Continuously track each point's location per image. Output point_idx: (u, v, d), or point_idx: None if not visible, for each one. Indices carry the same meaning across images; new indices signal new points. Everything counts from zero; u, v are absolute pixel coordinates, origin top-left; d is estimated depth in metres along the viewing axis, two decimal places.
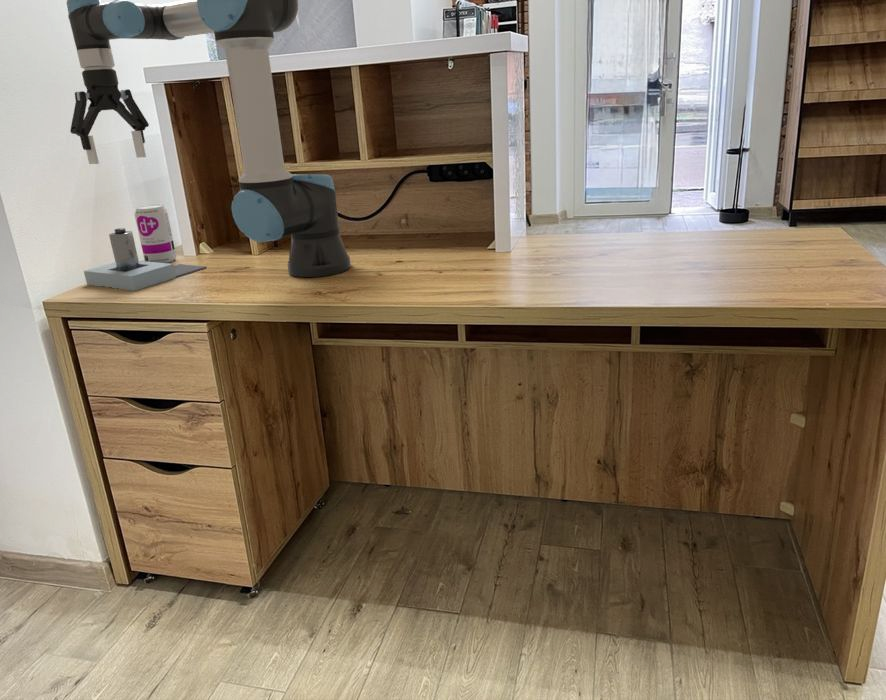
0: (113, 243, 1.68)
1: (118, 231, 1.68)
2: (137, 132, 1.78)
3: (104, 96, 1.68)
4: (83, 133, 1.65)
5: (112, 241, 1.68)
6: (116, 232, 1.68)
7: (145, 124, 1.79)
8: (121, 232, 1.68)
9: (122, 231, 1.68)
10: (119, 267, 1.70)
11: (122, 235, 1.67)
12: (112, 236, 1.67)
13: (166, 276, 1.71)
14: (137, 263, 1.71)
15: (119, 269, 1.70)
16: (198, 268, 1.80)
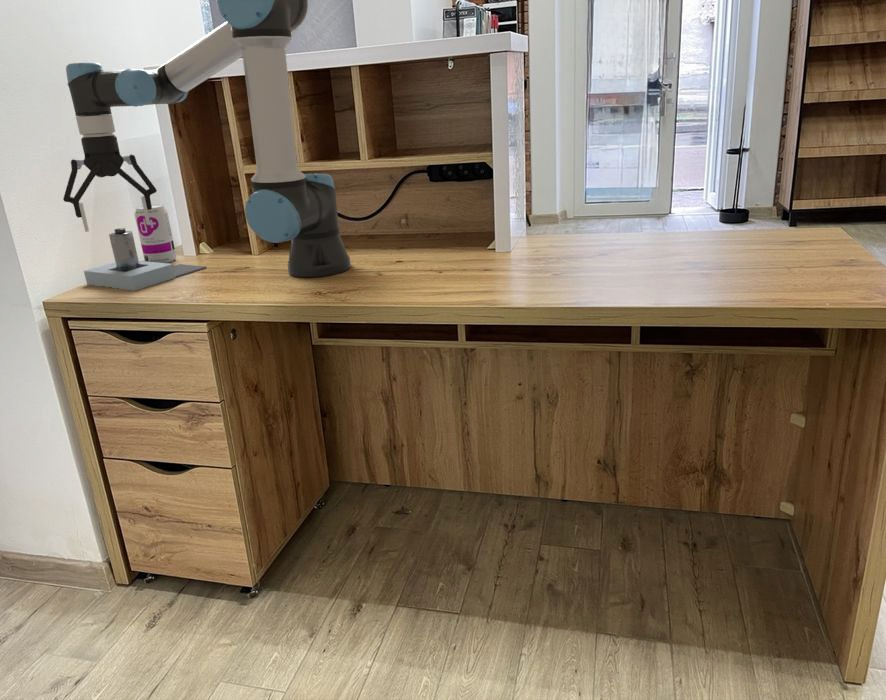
0: (113, 243, 1.68)
1: (118, 231, 1.68)
2: (141, 198, 1.68)
3: (97, 164, 1.61)
4: (72, 201, 1.62)
5: (112, 241, 1.68)
6: (116, 232, 1.68)
7: (152, 190, 1.68)
8: (121, 232, 1.68)
9: (122, 231, 1.68)
10: (119, 267, 1.70)
11: (122, 235, 1.67)
12: (112, 236, 1.67)
13: (166, 276, 1.71)
14: (137, 263, 1.71)
15: (119, 269, 1.70)
16: (198, 268, 1.80)
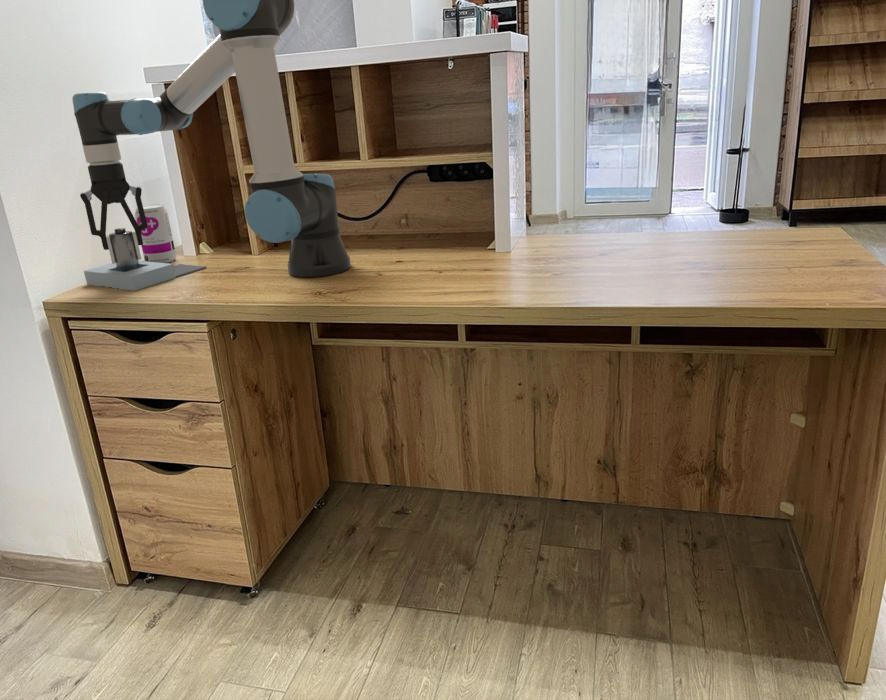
0: (113, 243, 1.68)
1: (118, 231, 1.68)
2: None
3: (104, 191, 1.63)
4: (100, 234, 1.66)
5: (112, 241, 1.68)
6: (116, 232, 1.68)
7: (143, 225, 1.70)
8: (121, 232, 1.68)
9: (122, 231, 1.68)
10: (119, 267, 1.70)
11: (122, 235, 1.67)
12: (112, 236, 1.67)
13: (166, 276, 1.71)
14: (137, 263, 1.71)
15: (119, 269, 1.70)
16: (198, 268, 1.80)
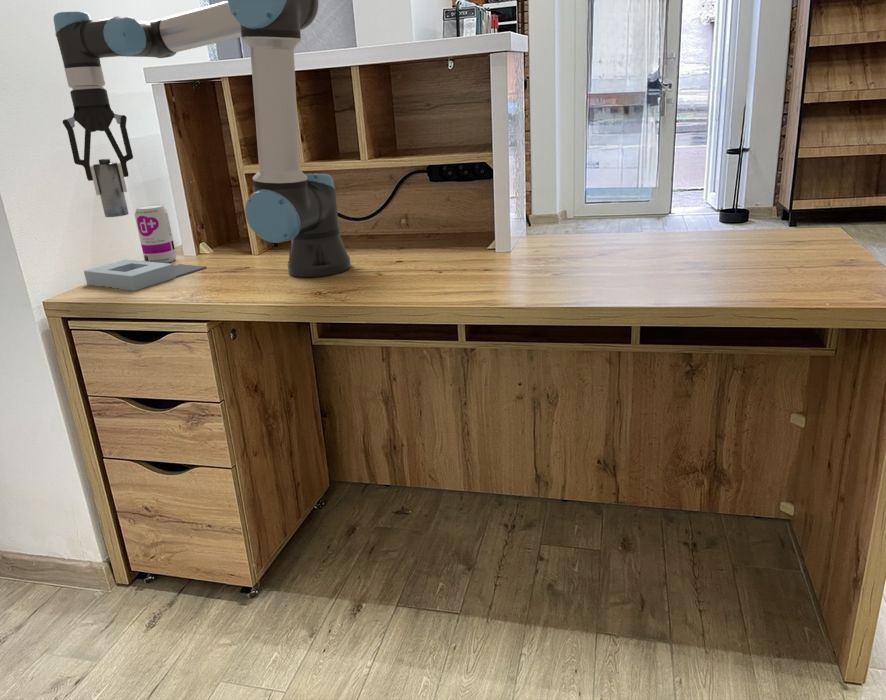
0: (97, 173, 1.62)
1: (102, 161, 1.62)
2: None
3: (87, 118, 1.57)
4: (83, 164, 1.61)
5: (96, 171, 1.62)
6: (100, 162, 1.62)
7: (128, 156, 1.64)
8: (105, 162, 1.62)
9: (106, 161, 1.62)
10: (104, 199, 1.64)
11: (106, 165, 1.61)
12: (96, 166, 1.61)
13: (166, 276, 1.71)
14: (123, 196, 1.66)
15: (104, 201, 1.64)
16: (198, 268, 1.80)
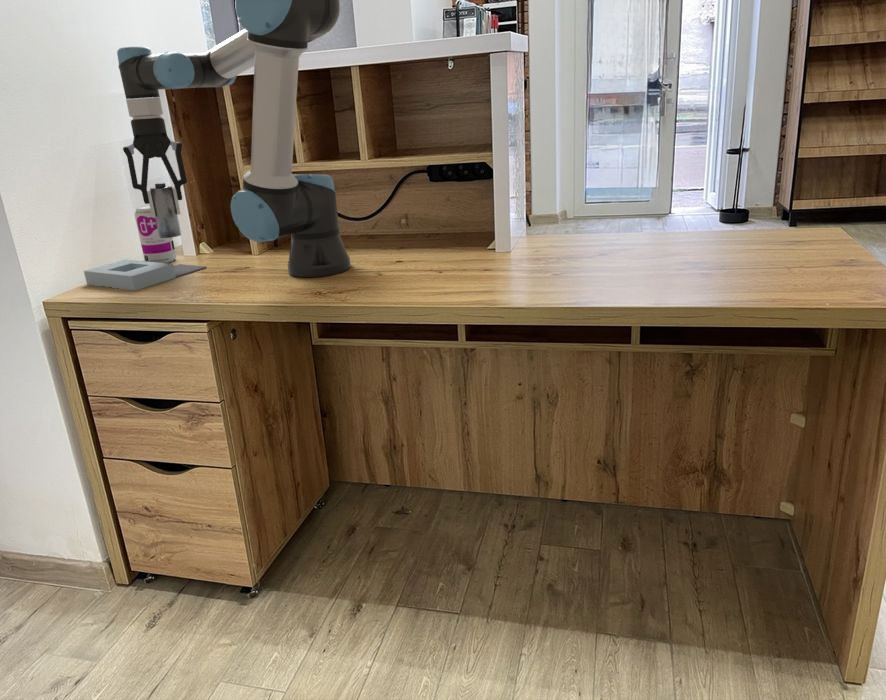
0: (154, 197, 1.71)
1: (159, 185, 1.71)
2: (172, 189, 1.73)
3: (146, 145, 1.67)
4: (141, 188, 1.70)
5: (152, 195, 1.71)
6: (157, 186, 1.72)
7: (182, 180, 1.73)
8: (161, 186, 1.72)
9: (162, 185, 1.72)
10: (159, 221, 1.73)
11: (163, 189, 1.71)
12: (153, 190, 1.71)
13: (166, 276, 1.71)
14: (176, 218, 1.75)
15: (159, 223, 1.74)
16: (198, 268, 1.80)
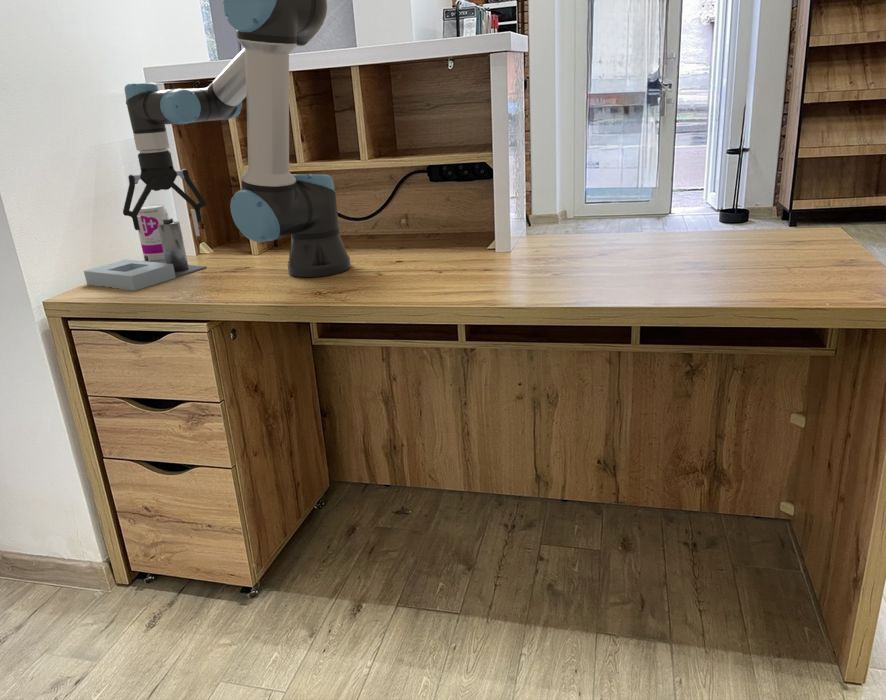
0: (162, 233, 1.74)
1: (166, 221, 1.74)
2: (192, 211, 1.77)
3: (153, 178, 1.70)
4: (131, 215, 1.71)
5: (160, 231, 1.74)
6: (164, 222, 1.75)
7: (202, 203, 1.77)
8: (169, 222, 1.75)
9: (170, 221, 1.75)
10: (167, 256, 1.76)
11: (170, 225, 1.74)
12: (161, 226, 1.74)
13: (166, 276, 1.71)
14: (184, 252, 1.78)
15: (167, 258, 1.77)
16: (198, 268, 1.80)
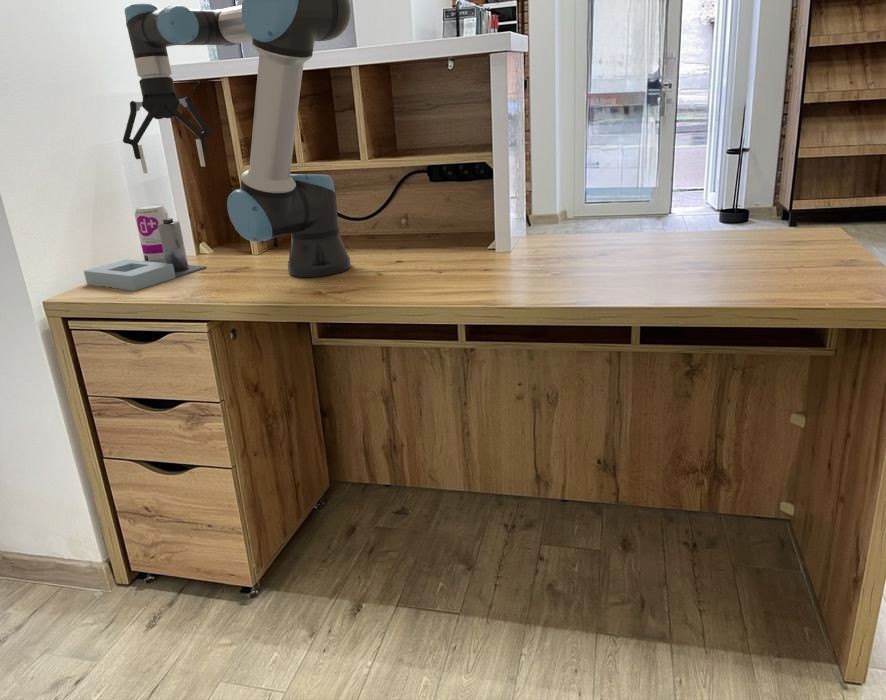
0: (162, 233, 1.74)
1: (166, 221, 1.74)
2: (197, 140, 1.72)
3: (156, 105, 1.65)
4: (132, 143, 1.66)
5: (160, 231, 1.74)
6: (164, 222, 1.75)
7: (207, 132, 1.72)
8: (169, 222, 1.75)
9: (170, 221, 1.75)
10: (167, 256, 1.76)
11: (170, 225, 1.74)
12: (161, 226, 1.74)
13: (166, 276, 1.71)
14: (184, 252, 1.78)
15: (167, 258, 1.77)
16: (198, 268, 1.80)
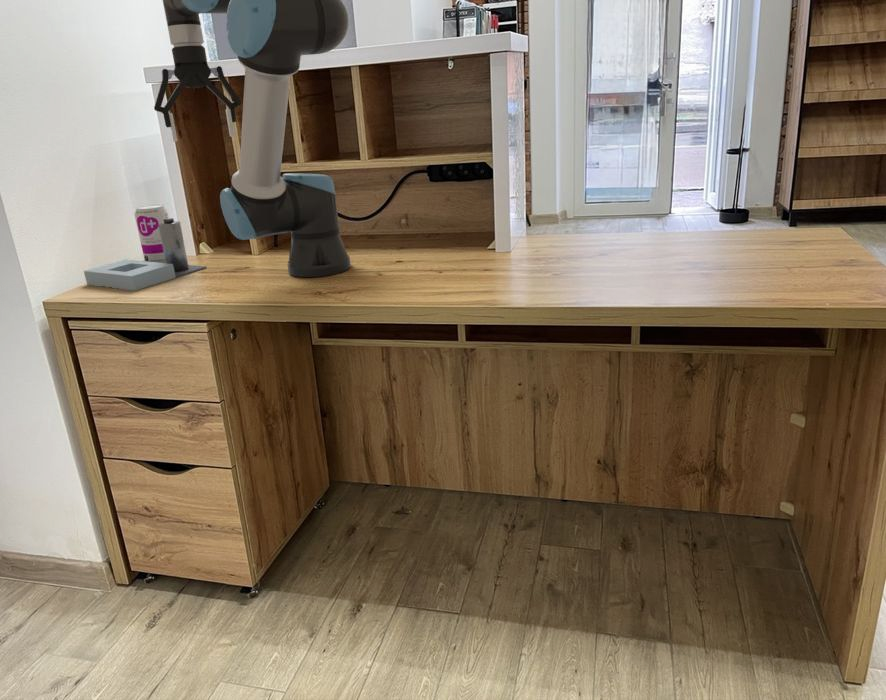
0: (162, 232, 1.74)
1: (167, 221, 1.75)
2: (227, 110, 1.73)
3: (187, 73, 1.66)
4: (163, 111, 1.67)
5: (161, 231, 1.74)
6: (165, 222, 1.75)
7: (237, 102, 1.73)
8: (170, 222, 1.75)
9: (171, 221, 1.75)
10: (168, 256, 1.76)
11: (171, 225, 1.74)
12: (162, 225, 1.74)
13: (166, 276, 1.71)
14: (184, 252, 1.78)
15: (167, 257, 1.77)
16: (198, 268, 1.80)
